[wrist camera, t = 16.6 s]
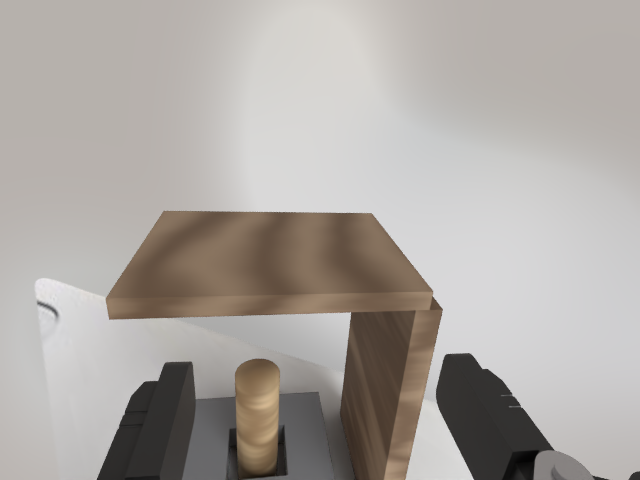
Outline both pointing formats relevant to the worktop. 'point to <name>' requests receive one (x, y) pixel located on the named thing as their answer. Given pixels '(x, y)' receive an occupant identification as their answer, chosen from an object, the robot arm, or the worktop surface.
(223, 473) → the socket plate
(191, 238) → the wooden l bracket
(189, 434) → the robot arm
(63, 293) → the worktop surface
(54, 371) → the worktop surface
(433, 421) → the worktop surface
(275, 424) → the wooden peg
